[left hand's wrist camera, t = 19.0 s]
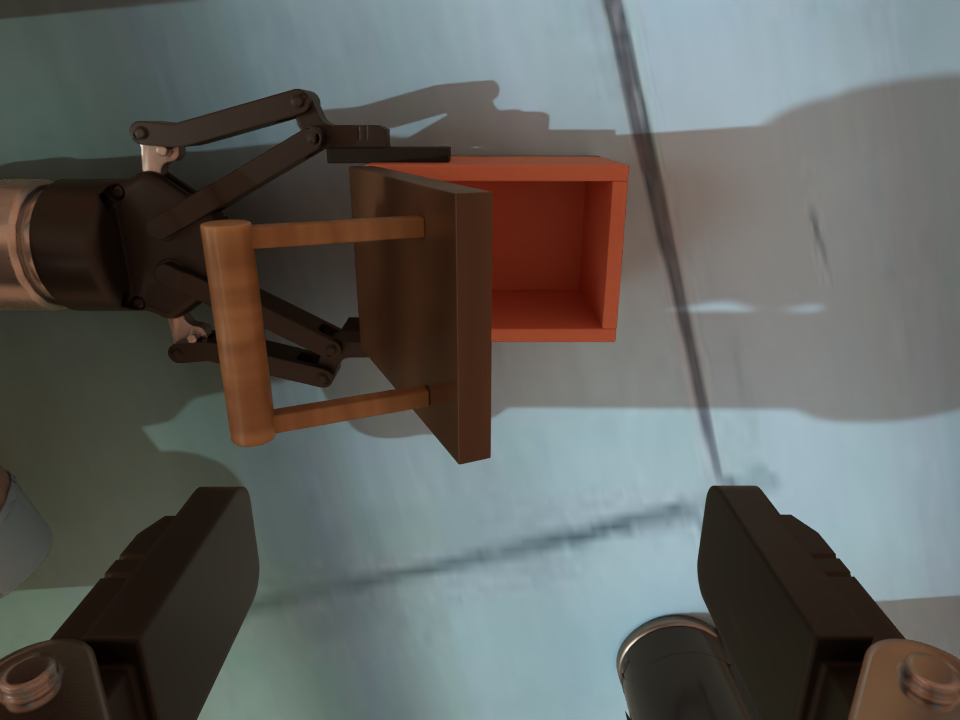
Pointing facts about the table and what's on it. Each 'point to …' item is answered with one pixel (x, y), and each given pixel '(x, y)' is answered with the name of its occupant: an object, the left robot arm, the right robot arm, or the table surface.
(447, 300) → the lid
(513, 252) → the chest
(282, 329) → the right robot arm
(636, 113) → the table surface
